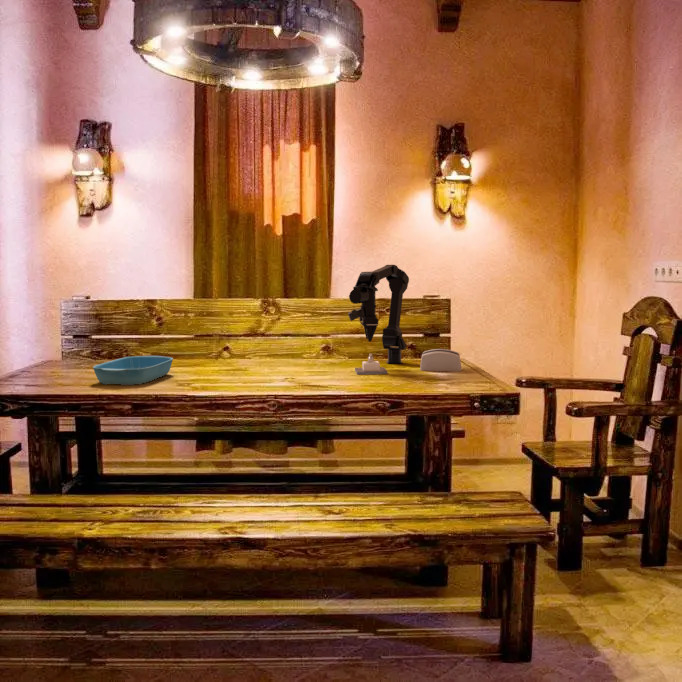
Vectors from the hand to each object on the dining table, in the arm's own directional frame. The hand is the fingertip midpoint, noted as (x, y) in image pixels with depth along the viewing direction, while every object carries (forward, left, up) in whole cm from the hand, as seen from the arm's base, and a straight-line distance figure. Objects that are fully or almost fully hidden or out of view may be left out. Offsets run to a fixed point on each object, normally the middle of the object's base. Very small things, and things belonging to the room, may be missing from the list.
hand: (368, 340), depth 300 cm
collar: (+9, 0, -11) cm, 14 cm away
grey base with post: (+9, 0, -12) cm, 15 cm away
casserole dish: (+17, -92, -12) cm, 94 cm away
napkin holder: (+7, +29, -12) cm, 32 cm away
